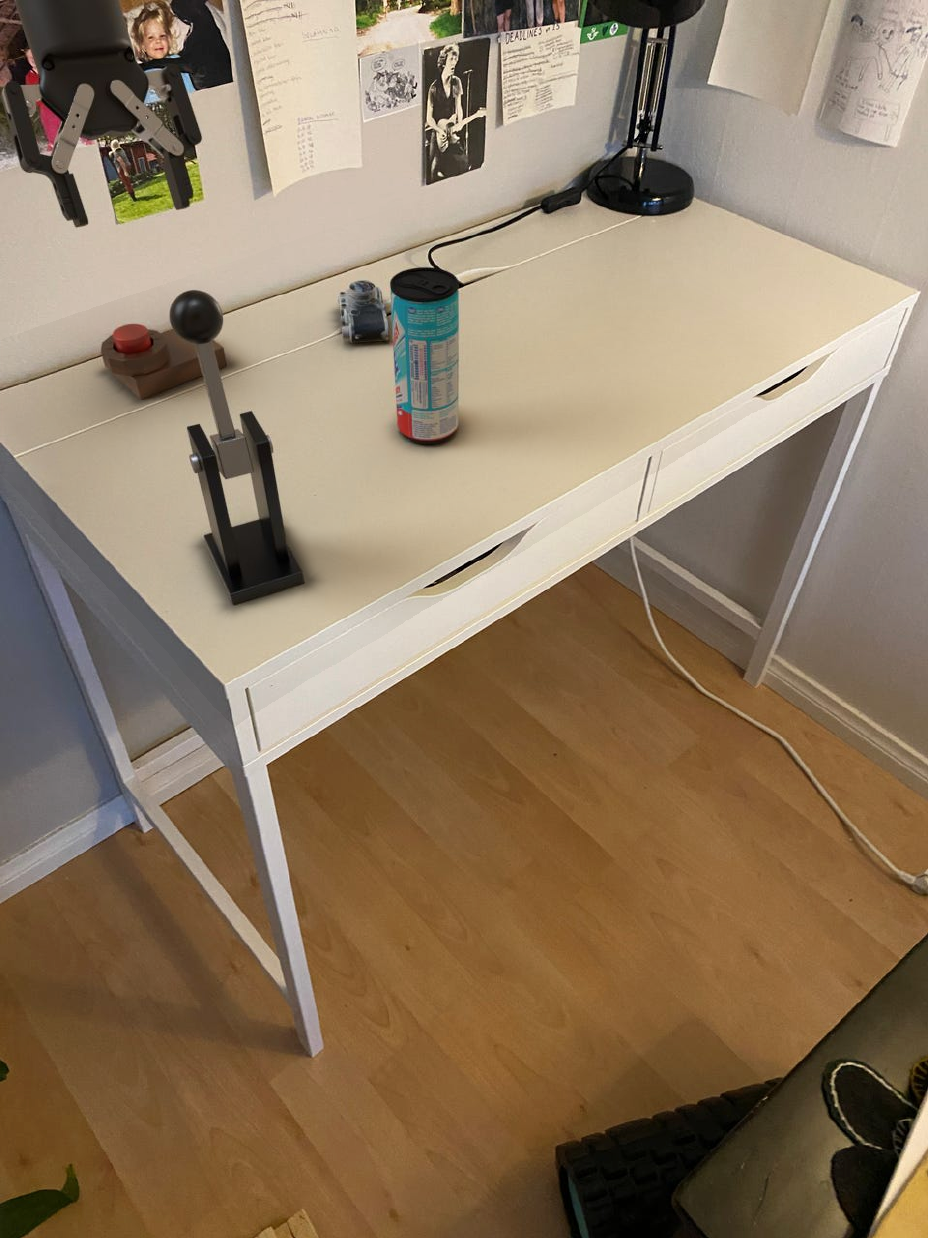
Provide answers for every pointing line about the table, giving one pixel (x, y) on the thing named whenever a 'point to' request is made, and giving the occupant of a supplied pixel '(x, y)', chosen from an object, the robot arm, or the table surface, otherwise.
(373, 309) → the camera
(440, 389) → the beverage can
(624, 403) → the table surface
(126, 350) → the button
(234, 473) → the lever
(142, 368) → the button block
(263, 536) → the bracket
